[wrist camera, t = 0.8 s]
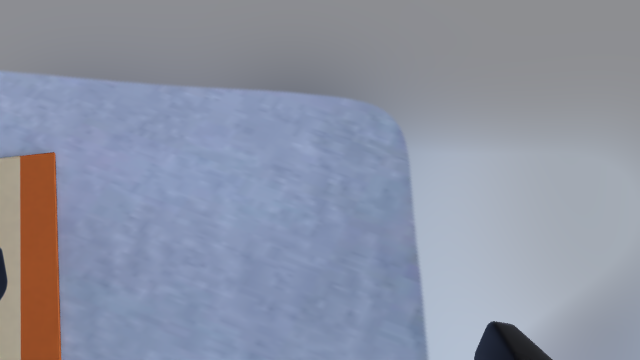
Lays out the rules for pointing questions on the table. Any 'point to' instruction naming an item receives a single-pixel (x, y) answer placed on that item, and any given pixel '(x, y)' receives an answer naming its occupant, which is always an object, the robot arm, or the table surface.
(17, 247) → the towel
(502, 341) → the robot arm
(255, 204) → the table surface
